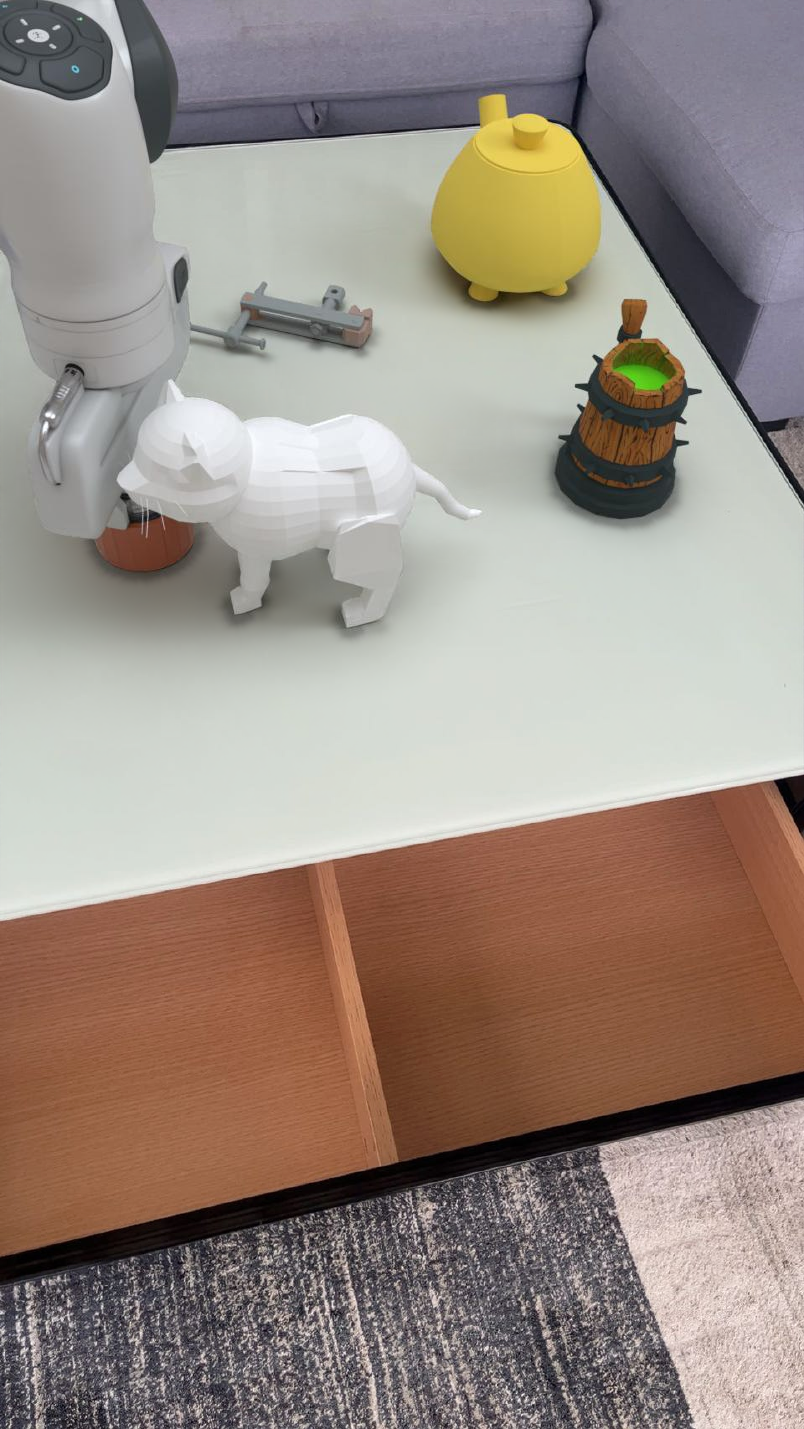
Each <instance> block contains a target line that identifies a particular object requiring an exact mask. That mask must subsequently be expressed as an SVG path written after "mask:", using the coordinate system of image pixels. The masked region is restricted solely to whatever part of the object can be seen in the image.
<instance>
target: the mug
mask: <svg viewBox="0 0 804 1429" xmlns="http://www.w3.org/2000/svg"><path fill="white" fill-rule="evenodd" d="M620 306H621V307H620V308H621V310H620V311H621V312H620V313H621V319H622V324H621V325H620V327H619V329H618V331H617V336H616V341H617V342H618V343H617V345H616V346H614V347H613V348H611V350H610V351H609V352H608V353H607V354H606V355H605V356H604V357H603V358H602V357H600V356H598V355H596V354H595V353H593V354H592V355H591V357H592V359H593V361H595V362H596V366H595V368H594V369H593V370H592V372H591V374H590V376H589V378H588V381H587V382H586V383H585V382H583V383H575V384H574V388H576V389H578V390H582V391H584V392H586V393H587V396H588V399H587V402H586V405H585V406H583V404H581V403H577V404H576V407H577V409H578V410H579V412H580V414H579V416H578V417H577V419H576V421H575V423H574V424H573V426H572V428H571V431H570V433H569V434H559V435H558V436H557V437H558V438H557V439H558V440H562V441H564V443H563V444H562V446H560V448H559V449H558V454H557V459H556V463H555V469H554V475H555V478H556V480H557V481H556V482H557V483H558V486H559V489H560V490H561V491H562V492H563V493H564V495H566V496H567V498H569V499H570V500H571V501H572V503H574V505H576V506H579V507H581V508H582V509H585V510H587V511H588V512H591V513H593V514H595V515H599V516H603V517H609V518H615V519H620V520H621V519H631V518H639V517H640V518H641V517H644V516H647V515H648V514H650V513H653V512H655V511H657V510H659V509H661V508H662V507H663V505H664V504H665V503H666V502H667V501H668V499H669V498H670V497H671V495H672V493H673V490H674V487H675V482H676V471H677V470H676V468H675V464H674V463H675V459H676V457H677V456H676V455H677V449H678V447H683V446H688V445H690V441H689V440H683V439H677V438H676V433H675V431H676V427H677V423H678V424H681V425H684V426H686V425H687V424H688V421H687V420H686V419H684V417H682V415H683V413H684V411H685V409H686V407H687V405H688V401H689V397H691V396H694V395H699V394H702V393H703V389H700V388H694V387H693V388H692V387H688V383H687V379H686V378H685V375H686V370H685V368H684V366H683V364H682V362H681V361H680V359H679V358H677V356H675V355H674V354H672V352H670V349H669V348H668V346H666V345H665V344H664V343H663V342H662V341H661V339H659V338H642V335H643V329H642V325H643V322H644V320H645V317H646V315H647V313H648V312H647V310H648V303H647V300H646V299H641V298H624V299H623V300H622V303H621V305H620Z"/></svg>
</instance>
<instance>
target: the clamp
mask: <svg viewBox="0 0 804 1429" xmlns="http://www.w3.org/2000/svg"><path fill="white" fill-rule="evenodd" d="M267 287H268V283H267V282H266V281H261V283H260V285H259V287H257V288H256V289H255V290H254V292H248V291H245V293H243V295H242V296H241V298H240V300H239V305H240V316H239V317H238V318H237V320H236V322H235V324H234V325H231V326H229V328H228V329H227V331H224V330H218V329H214V328H211V327H205V326H201V325H197V324H193V323H192V322H191V321H190V332H195V333H200V334H204V335H209V336H212V337H218V338H222V339H223V342H224V344H225V345H226V346H228V347H229V348H236V347H237V346H238V345H239V343H243V344H247V345H252V346H255V347H259V350H261V351H263V350H265V348H266V346H267V340H266V338H264V337H262V338H261V339H258V338H253V337H249V336H244V333H243V330H244V329H245V327H246V325H252V326H255V327H260V328H265V329H270V330H274V331H279V332H284V333H288V334H293V335H298V336H303V337H306V338H307V337H308V338H313V339H315V340H316V339H317V340H321V341H326V342H331V343H335V344H341V345H345V346H349V347H355V348H360V347H361V346H362V345H364V344H365V343H366V340H367V339H368V337H370V335H371V333H372V332H373V320H374V318H373V317H374V315H373V314H374V311H373V309H372V308H371V307H369V308H365V309H362V311H361V309H360V308H359V307H358V306H357V305H356V304H353V305H351V306H350V308H349V309H348V312H344V311H339V309H340V306H341V305H342V303H343V300H344V299H345V297H346V290H345V288H344V287H342V286H341V285H340V286H339V285H334V284H329V285H328V287H327V289H326V291H325V293H324V295H323V297H322V299H321V302H322V303H321V304H322V306H321V307H320V306H316V305H311V304H306V303H301V302H297V301H293V300H287V299H283V298H277V297H272V296H268V295H264V293H265V291H266V288H267Z"/></svg>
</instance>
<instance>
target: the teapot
mask: <svg viewBox="0 0 804 1429" xmlns="http://www.w3.org/2000/svg"><path fill="white" fill-rule="evenodd" d="M478 111H479V112H478V113H479V124H480V125H479V126H480V128H479V129H478V131H477V132H476V133H474V135H472V137H471V138H470V139H469V140H468V141H467V143H466V144H465V145H464V147H463V148H462V149H461V150H460V152H459V153H458V155H457V156H456V157H455V159H453V161H452V162H451V164H450V166H449V167H448V169H447V170H446V172H445V174H444V176H443V178H442V180H441V182H440V185H439V187H438V190H437V193H436V195H435V199H434V202H433V206H432V210H431V217H430V232H431V235H432V239H433V242H434V244H435V247H436V248H437V249H438V251H439V253H440V254H441V256H442V257H443V258H444V259H445V260H446V262H447V263H448V264H449V265H450V266H451V268H452V269H454V270H455V272H456V273H458V275H460V276H461V277H463V278H464V279H466V280H467V281H470V282H471V284H470V286H469V288H468V294H469V296H470V297H471V298H472V299H474V300H475V301H480V302H490V301H493V300H495V299H496V298H497V297H498V296H499V291H500V292H507V293H518V294H519V293H520V294H521V293H535V292H541V293H543V294H544V295H547V296H551V297H559V296H562V295H564V294H566V293H567V291H568V286H567V283H566V281H568V280H570V279H572V278H573V277H575V276H576V275H578V274H579V273H580V272H581V271H582V270H583V269H584V268H586V267H587V266H588V265H589V263H590V262H591V261H592V260H593V259H594V257H595V255H596V254H597V251H598V248H599V245H600V240H601V233H602V207H601V202H600V196H599V190H598V187H597V184H596V180H595V178H594V175H593V172H592V170H591V167H590V165H589V162H588V160H587V157H586V154H585V153H584V151H583V149H582V147H581V145H580V143H579V142H578V140H577V139H576V138H575V136H574V135H573V134H572V133H570V132H569V131H568V130H566V129H565V128H563V127H561V126H559V125H557V124H555V123H552V122H549V121H548V119H546V118H545V117H543V116H542V115H539V114H535V113H521V114H517V115H515V116H514V117H508V116H509V115H508V107H507V100H506V95H505V94H502V93H497V94H496V93H495V94H489V95H485V96H482V97H480V98H479V99H478Z"/></svg>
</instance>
